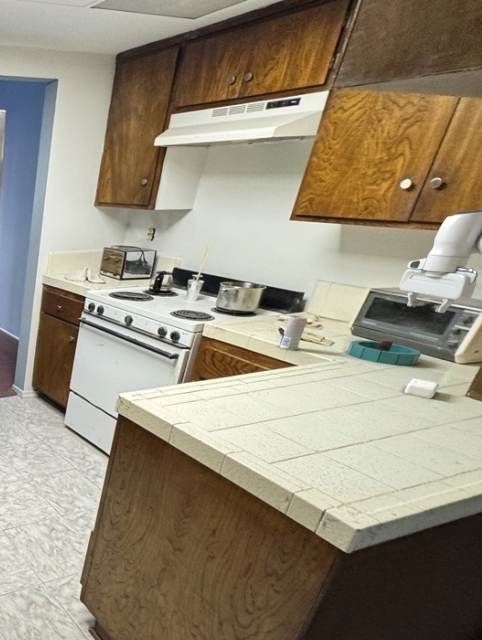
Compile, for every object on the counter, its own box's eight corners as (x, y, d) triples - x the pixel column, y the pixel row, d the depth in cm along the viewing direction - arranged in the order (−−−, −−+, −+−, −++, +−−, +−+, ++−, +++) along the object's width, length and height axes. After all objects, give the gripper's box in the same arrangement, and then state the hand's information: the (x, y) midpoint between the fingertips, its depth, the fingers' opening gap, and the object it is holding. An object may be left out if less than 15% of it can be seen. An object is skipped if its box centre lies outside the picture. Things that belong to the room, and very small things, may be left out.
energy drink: (290, 346, 177) (301, 315, 173) (300, 350, 172) (311, 318, 168) (275, 346, 178) (285, 315, 173) (284, 350, 173) (295, 318, 168)
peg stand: (382, 355, 169) (389, 337, 166) (399, 361, 162) (407, 343, 160) (361, 354, 169) (368, 337, 167) (378, 360, 163) (386, 342, 160)
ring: (384, 351, 173) (389, 341, 172) (430, 366, 157) (435, 355, 156) (335, 349, 174) (339, 339, 173) (375, 364, 158) (380, 353, 157)
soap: (431, 399, 129) (435, 389, 128) (403, 393, 133) (407, 383, 132) (436, 392, 134) (440, 383, 133) (409, 387, 138) (413, 377, 137)
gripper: (491, 269, 136) (469, 316, 142) (424, 262, 155) (406, 303, 161) (468, 269, 137) (447, 315, 142) (403, 261, 156) (387, 303, 161)
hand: (425, 309), depth 151 cm, fingers open, 8 cm apart
